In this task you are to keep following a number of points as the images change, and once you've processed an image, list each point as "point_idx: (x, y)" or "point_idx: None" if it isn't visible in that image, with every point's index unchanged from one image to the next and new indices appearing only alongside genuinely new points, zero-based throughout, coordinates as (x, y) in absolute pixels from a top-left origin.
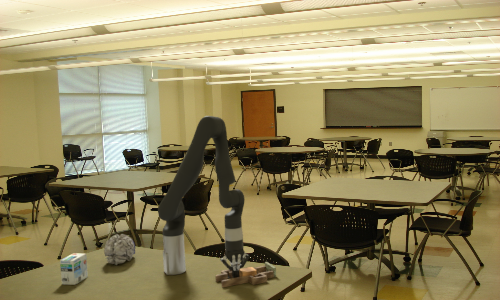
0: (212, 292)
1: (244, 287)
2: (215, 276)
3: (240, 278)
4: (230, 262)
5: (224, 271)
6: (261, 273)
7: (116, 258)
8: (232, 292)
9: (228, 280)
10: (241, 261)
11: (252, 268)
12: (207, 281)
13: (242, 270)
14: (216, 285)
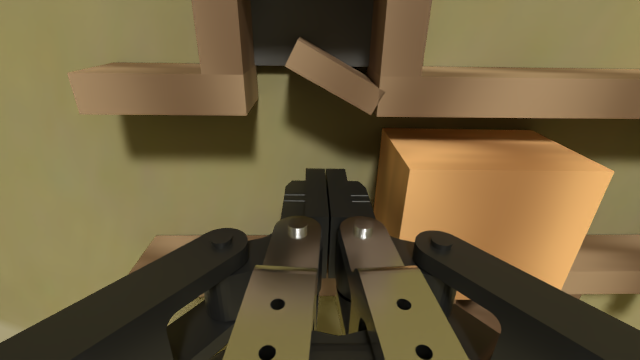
0: (65, 302)
1: (324, 321)
2: (81, 71)
3: (333, 291)
4: (252, 296)
5: None
6: (569, 288)
7: None
8: None
9: (203, 293)
10: (487, 305)
11: (568, 232)
12: (8, 22)
13: None
14: (111, 189)
